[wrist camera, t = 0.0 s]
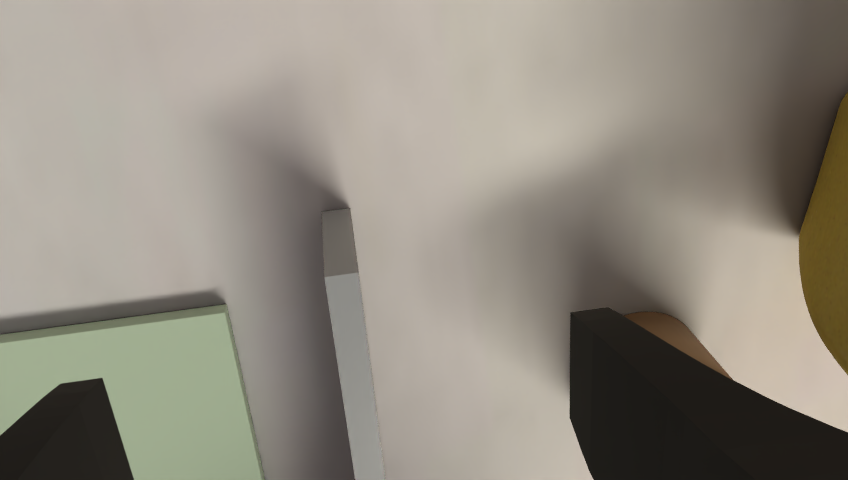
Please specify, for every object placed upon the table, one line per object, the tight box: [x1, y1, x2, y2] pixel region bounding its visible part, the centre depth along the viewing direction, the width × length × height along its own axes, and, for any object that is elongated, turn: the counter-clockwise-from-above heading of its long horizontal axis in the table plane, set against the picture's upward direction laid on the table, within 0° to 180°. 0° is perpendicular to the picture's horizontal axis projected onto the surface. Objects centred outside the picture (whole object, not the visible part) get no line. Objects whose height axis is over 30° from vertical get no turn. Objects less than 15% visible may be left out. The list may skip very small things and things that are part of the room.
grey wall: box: [322, 208, 386, 480], centre depth 23 cm, size 16×1×4 cm, turn 5°
